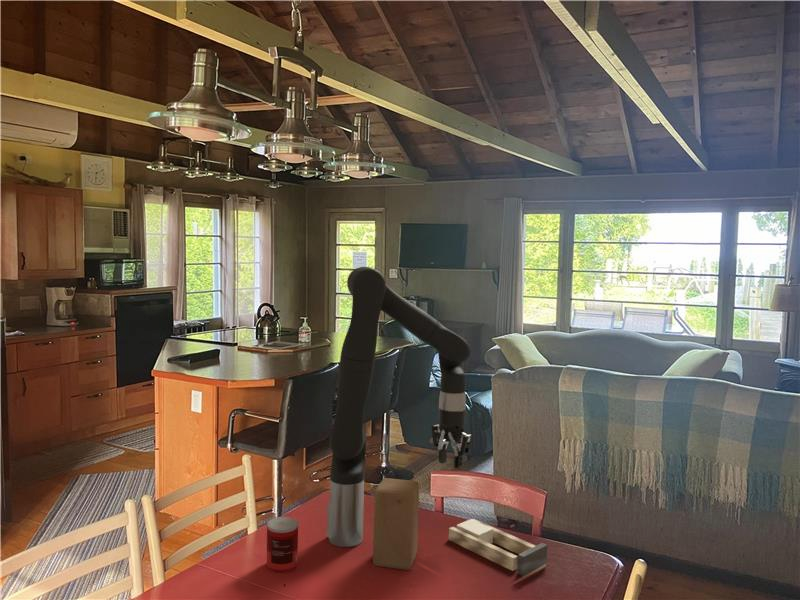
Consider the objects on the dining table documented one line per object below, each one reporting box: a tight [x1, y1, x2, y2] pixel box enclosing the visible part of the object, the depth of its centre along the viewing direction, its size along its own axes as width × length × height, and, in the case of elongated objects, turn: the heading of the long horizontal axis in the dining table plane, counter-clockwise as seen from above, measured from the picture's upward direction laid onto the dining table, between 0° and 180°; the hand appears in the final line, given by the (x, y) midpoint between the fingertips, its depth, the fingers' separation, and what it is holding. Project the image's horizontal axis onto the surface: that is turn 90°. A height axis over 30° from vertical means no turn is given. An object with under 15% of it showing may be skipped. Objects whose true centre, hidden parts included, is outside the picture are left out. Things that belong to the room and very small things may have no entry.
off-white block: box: [456, 518, 494, 545], centre depth 175 cm, size 8×6×4 cm
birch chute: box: [448, 518, 548, 579], centre depth 170 cm, size 26×10×6 cm, turn 43°
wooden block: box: [372, 477, 420, 571], centre depth 164 cm, size 10×10×20 cm
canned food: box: [266, 516, 299, 574], centre depth 160 cm, size 8×8×11 cm
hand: (450, 465), depth 181 cm, fingers open, 5 cm apart
